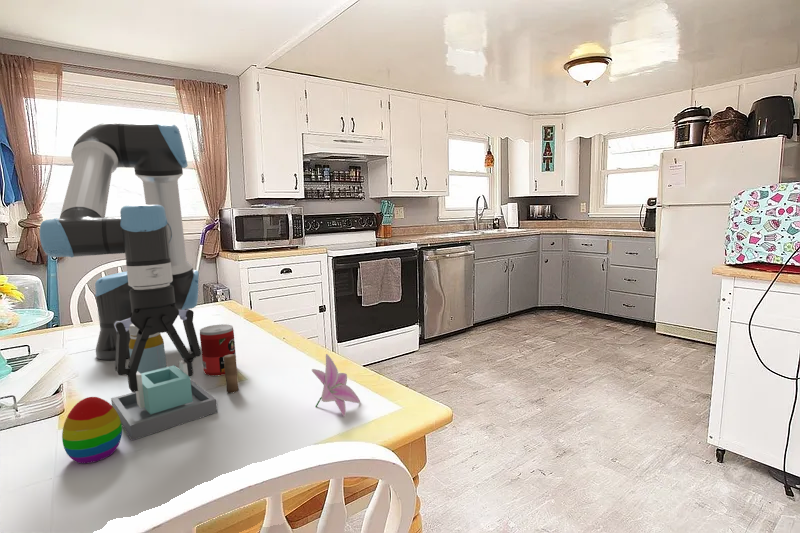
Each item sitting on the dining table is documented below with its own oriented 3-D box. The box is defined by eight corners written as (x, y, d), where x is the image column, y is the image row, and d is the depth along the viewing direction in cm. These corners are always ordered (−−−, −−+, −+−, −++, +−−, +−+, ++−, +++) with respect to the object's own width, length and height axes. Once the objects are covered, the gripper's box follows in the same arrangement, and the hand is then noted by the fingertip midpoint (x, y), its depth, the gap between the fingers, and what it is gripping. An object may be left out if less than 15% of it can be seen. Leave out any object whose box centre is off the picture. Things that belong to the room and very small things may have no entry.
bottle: (174, 380, 107) (168, 319, 105) (150, 392, 100) (142, 327, 98) (152, 378, 109) (145, 318, 107) (126, 389, 103) (118, 325, 101)
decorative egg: (52, 466, 72) (44, 407, 71) (97, 440, 80) (90, 386, 79) (94, 471, 70) (86, 410, 69) (135, 444, 78) (129, 389, 77)
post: (225, 390, 100) (221, 356, 99) (236, 387, 101) (232, 353, 100) (229, 394, 98) (226, 358, 97) (240, 390, 100) (237, 355, 99)
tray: (112, 411, 91) (111, 398, 91) (189, 389, 101) (188, 377, 101) (132, 440, 79) (130, 425, 79) (217, 412, 89) (216, 398, 89)
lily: (313, 434, 81) (336, 390, 80) (282, 393, 89) (303, 352, 87) (358, 428, 91) (380, 388, 89) (327, 391, 98) (346, 354, 96)
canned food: (225, 377, 108) (221, 332, 107) (196, 375, 110) (192, 332, 108) (243, 365, 116) (239, 324, 114) (215, 364, 117) (211, 323, 116)
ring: (150, 414, 83) (147, 388, 82) (135, 396, 91) (132, 373, 91) (192, 401, 88) (190, 377, 87) (174, 386, 96) (172, 363, 96)
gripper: (91, 296, 77) (108, 423, 80) (212, 280, 90) (222, 388, 93) (84, 291, 82) (100, 410, 85) (199, 277, 96) (209, 379, 99)
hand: (164, 398), depth 89 cm, fingers closed on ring, 7 cm apart
